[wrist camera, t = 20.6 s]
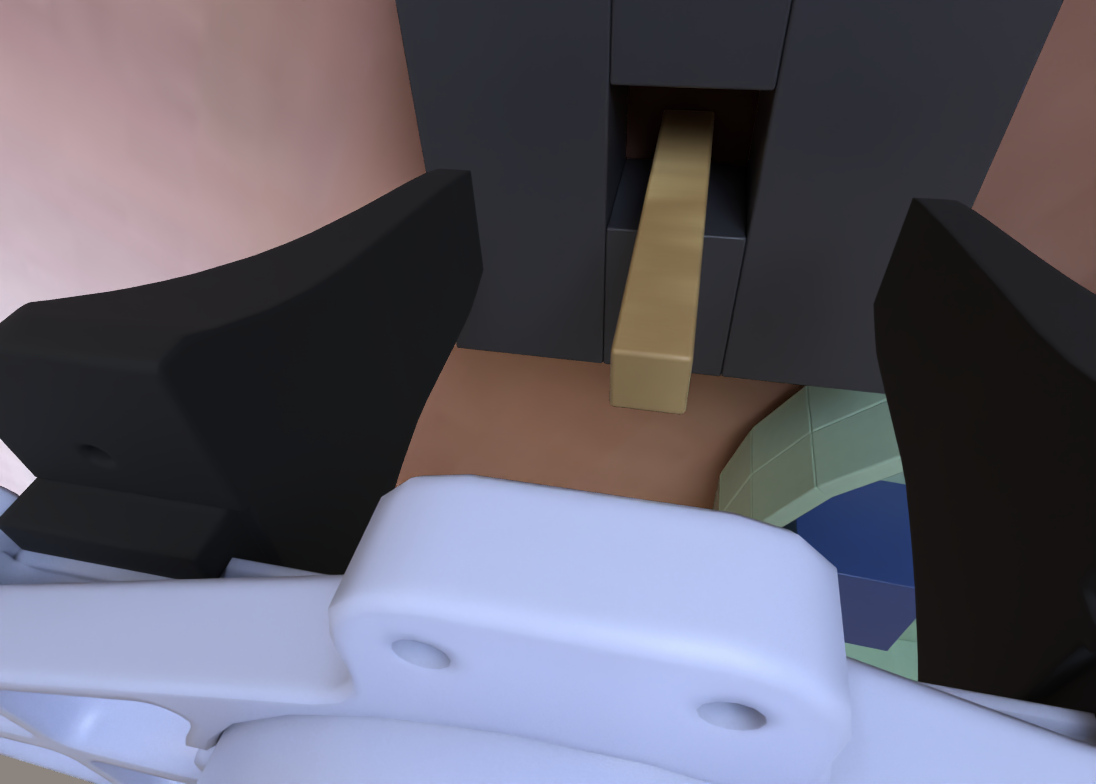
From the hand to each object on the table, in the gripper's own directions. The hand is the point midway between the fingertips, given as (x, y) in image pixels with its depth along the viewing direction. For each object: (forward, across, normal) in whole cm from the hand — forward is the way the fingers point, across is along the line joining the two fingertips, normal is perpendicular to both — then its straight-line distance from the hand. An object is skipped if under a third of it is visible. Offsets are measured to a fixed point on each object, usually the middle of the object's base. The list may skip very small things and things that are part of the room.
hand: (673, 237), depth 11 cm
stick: (+6, 0, +1) cm, 6 cm away
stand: (+6, 0, 0) cm, 6 cm away
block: (+6, -6, +14) cm, 16 cm away
